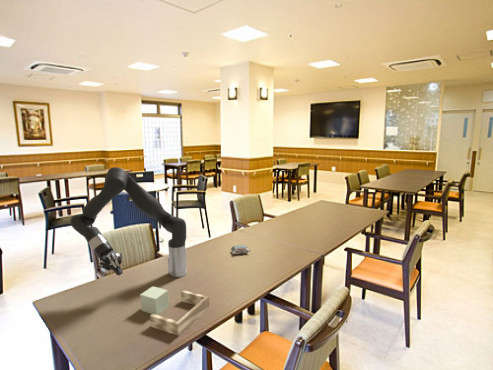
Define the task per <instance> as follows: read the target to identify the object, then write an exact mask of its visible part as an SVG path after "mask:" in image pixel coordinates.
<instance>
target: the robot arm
mask: <svg viewBox="0 0 493 370" xmlns="http://www.w3.org/2000/svg"><path fill="white" fill-rule="evenodd" d="M123 191H125V192H126V194H128V196H129V198H130V199H131V200H132V202H133V204H134V206H135V207H136V208H137V209H138V210H140V212H142V213H143V214H145V215H146V216H147V217H149V218H150V219H152V220H154V221H156V222H157V223H158V224H159V225H160V226H161V227H162V228H163V229H164V230H165V231H167V232H168V233H169V234H171V238H170V239H169V240H168V241H167V243H168V244H167V245H168V258H167V265H168V267H167V268H168V275H170V277H172V278H181V277H184V276H186V275H187V254H186V240H187V223H186V221H185V219H183V218H181V217H178V216H175V215H172V214H171V213H170V212H167V211H166V209H164V207H163V205H162V204H161V202H160V200H159V199H157V198H156V197H154V196H153V195H152V194H151V193H149V192H148V191H147V190H146V189H144V188H143V187H142V186H141V185H140V184H138V182H136V181H135V179H134V178H133V177H132V176H131V175H130V174H129V173H128V172H126V170H124V169H123V168H120V167H116V166H115V167H111V168H109V169H108V171H107V172H106V176H105V179H104V185H103V186H102V189H101V190H100V192H99V193H98V194H97V195H94V196H93V197H91V198H90V200H88V201H87V203H86V204H85V205H84V207H83V208H82V213H79V214H75V215H73V216H71V217H70V221H69V222H70V226H71V227H72V228H73V230H74V231H76V232H77V233H78V234H80V236H82V237H83V238H84V239H85V241H86V242H87V243H88V245H89V246H90V248H91V249H92V251H93V252H94V254H95V255H96V257H97V258H98V259H99V261H100V262H99V263H98V265H97V266H98V268H101V269H104V270H107V271H113V272H114V273H115V274H116V275H117V276H121V275H122V274H124V272H123V269H122V268H121V265H122V263H123V261H122V260H123V254H122V253H117V252H116V251H115V250H114V248H113V246H112V245H111V244H110V242H109V241H108V240H107V238H106V237H105V236H104V235H103V234H102V232H101V231H100V229H99V228H98V227H96V226H92V225H94V223H95V221H96V220H97V217H98V215H99V214H100V212H101V211H103V209H104V208H105V207H106V206H107V205H108V204H109V203H110V202H111V201H112V200H114V198H116V197H117V196H119V195H120V194H121V193H122V192H123Z"/></svg>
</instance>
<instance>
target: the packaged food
mask: <svg viewBox="0 0 493 370" xmlns="http://www.w3.org/2000/svg"><path fill="white" fill-rule="evenodd" d="M230 251H232V255H243V254H248V253H250V252H251V249H249V248H248V246H247V245H245V244H243V245H242V244H241V245H240V244H239V245H233V246H232V247H231V248H230Z"/></svg>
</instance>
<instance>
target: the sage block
mask: <svg viewBox="0 0 493 370" xmlns="http://www.w3.org/2000/svg"><path fill="white" fill-rule="evenodd" d="M139 298H140V306H141V307H140V308H141V312H144V313H148V314H150V315H151V314H156V315H160V314H161V313H162V312H164V311H165V310H166V309H167V308H168V307H170V302H169V290H168V289H166V288H161V287H157V286H153V285H152V286H150V287H149V288H148V289H146V290H145V291H144V292H142V293H140V297H139Z"/></svg>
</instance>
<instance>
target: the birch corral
mask: <svg viewBox="0 0 493 370" xmlns="http://www.w3.org/2000/svg"><path fill="white" fill-rule="evenodd" d="M180 294H181V295H180V296H181V298H180V299H181V302H183V303H187V304H188V305H189V304H190V305H194V306H193V307H192V308H191V309H190V310H189V311H188V312H186V314H184V315H183V316H182V317H181V318H180V319H179V320H178V321H177V320H176V319H175V320H174V319H171V318H167V317H165V316H162V315H160V314H158V315H156V314H150V315H149V320H150V321H149V322H150V327H151V328H154V329H155V330H156V329H157V330H159V331H162V332H166V333H169V334H172V335H175V336H176V337H177V336H178V337H180V336H181V335H182V334H183V333H185V331H186V330H188V328H189V327H190V326H191V325H192V324H193V323H194V322H195V321H196V320H198V319H199V318H200V317H201V315H202V314H204V312H206V311H207V310H208V309H209V307H210V297H209V296H208V295H203V294H200V293H195V292H191V291H188V290H184V289H182V291H180Z"/></svg>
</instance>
